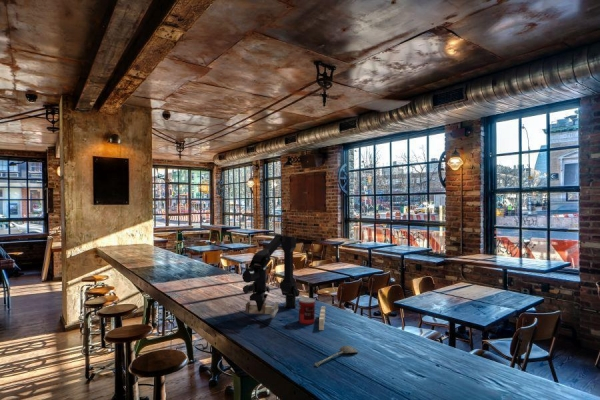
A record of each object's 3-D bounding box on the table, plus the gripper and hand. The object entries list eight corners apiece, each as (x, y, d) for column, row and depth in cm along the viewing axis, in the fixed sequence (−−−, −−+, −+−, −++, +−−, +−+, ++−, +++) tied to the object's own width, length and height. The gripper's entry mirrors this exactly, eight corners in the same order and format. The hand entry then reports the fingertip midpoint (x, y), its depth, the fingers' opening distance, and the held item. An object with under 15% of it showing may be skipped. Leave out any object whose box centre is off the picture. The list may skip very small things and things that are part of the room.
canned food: (303, 318, 178) (304, 296, 178) (317, 321, 174) (317, 299, 174) (295, 322, 172) (295, 300, 172) (309, 325, 167) (310, 302, 168)
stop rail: (321, 316, 182) (321, 306, 182) (325, 316, 182) (325, 306, 182) (319, 329, 162) (319, 319, 162) (323, 330, 162) (323, 319, 162)
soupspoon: (361, 355, 139) (348, 350, 144) (361, 346, 139) (348, 342, 144) (322, 370, 124) (309, 364, 129) (322, 360, 124) (309, 355, 129)
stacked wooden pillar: (243, 316, 170) (243, 306, 170) (249, 308, 182) (249, 299, 182) (273, 317, 169) (273, 308, 169) (278, 309, 181) (278, 301, 181)
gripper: (249, 274, 186) (248, 304, 186) (239, 282, 167) (238, 315, 167) (270, 275, 185) (269, 305, 184) (262, 283, 166) (261, 316, 166)
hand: (259, 310), depth 176 cm, fingers closed on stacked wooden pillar, 2 cm apart
